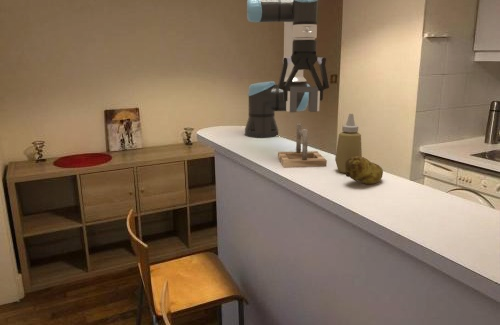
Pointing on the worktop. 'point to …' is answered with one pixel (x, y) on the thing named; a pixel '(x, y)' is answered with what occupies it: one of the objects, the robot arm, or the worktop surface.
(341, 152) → the squeeze bottle
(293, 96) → the grey notched block
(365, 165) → the potato
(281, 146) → the worktop surface
